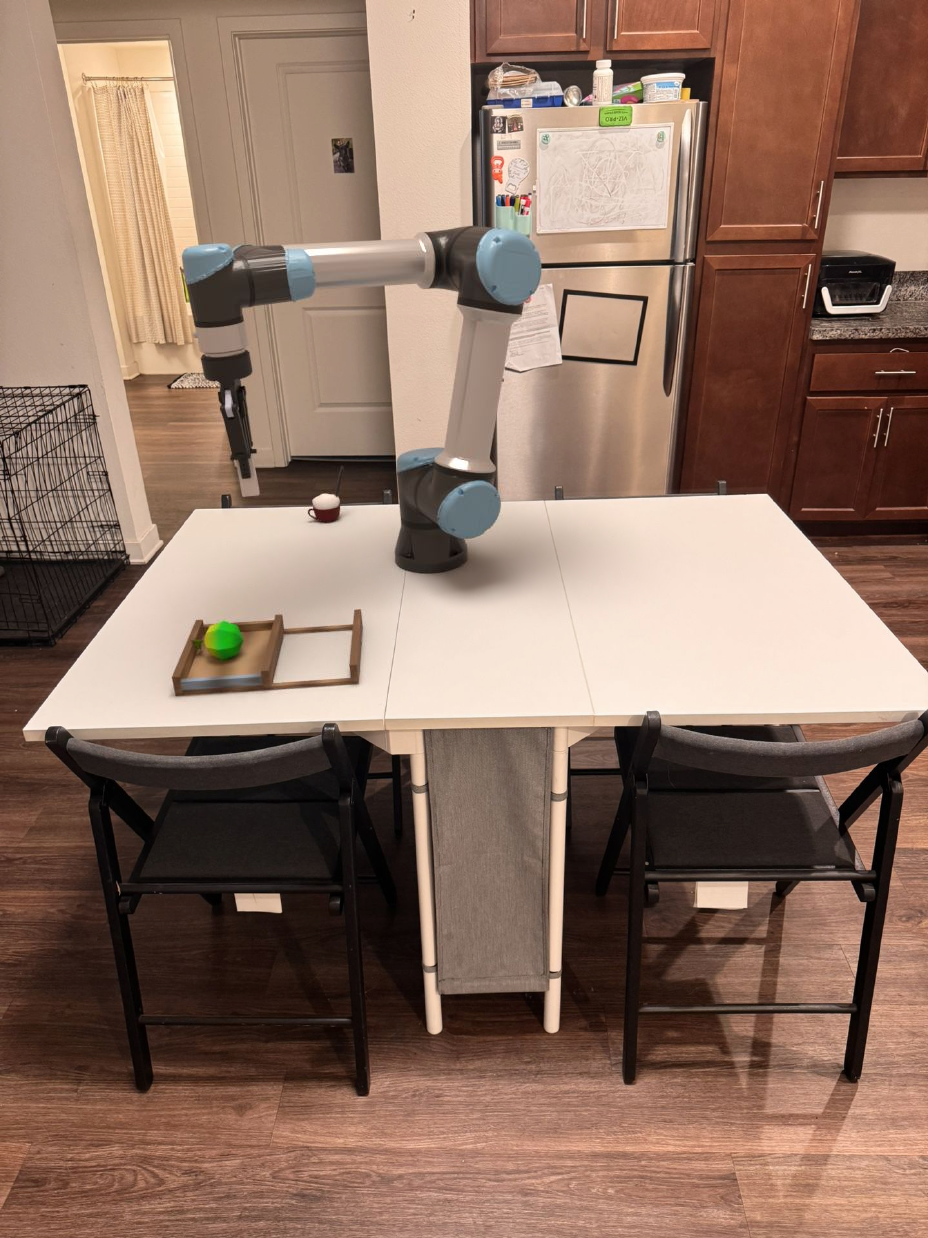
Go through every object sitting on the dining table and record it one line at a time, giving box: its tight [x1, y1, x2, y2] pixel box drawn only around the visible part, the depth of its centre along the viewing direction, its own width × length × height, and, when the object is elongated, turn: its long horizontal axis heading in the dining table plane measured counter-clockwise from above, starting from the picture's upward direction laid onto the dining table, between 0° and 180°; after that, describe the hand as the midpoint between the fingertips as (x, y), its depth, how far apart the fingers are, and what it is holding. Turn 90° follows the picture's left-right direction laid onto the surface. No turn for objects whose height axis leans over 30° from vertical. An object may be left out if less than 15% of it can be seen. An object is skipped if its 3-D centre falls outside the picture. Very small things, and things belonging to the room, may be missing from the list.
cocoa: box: [307, 465, 345, 523], centre depth 214 cm, size 10×6×12 cm, turn 91°
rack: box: [171, 608, 364, 697], centre depth 157 cm, size 29×20×4 cm
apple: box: [190, 620, 243, 660], centre depth 156 cm, size 7×6×9 cm
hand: (251, 494), depth 155 cm, fingers closed
